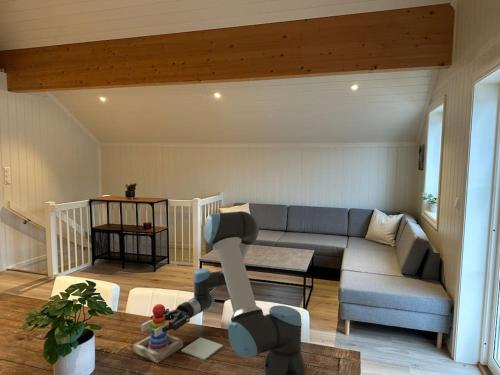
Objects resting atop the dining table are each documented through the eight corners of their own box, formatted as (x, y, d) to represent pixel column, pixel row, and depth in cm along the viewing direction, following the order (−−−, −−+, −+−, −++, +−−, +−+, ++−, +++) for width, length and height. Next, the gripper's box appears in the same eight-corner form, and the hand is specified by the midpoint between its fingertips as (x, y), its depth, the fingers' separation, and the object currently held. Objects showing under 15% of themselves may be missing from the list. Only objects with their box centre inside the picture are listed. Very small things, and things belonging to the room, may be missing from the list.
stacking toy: (163, 355, 136) (162, 309, 135) (144, 353, 138) (143, 307, 136) (171, 345, 144) (171, 301, 143) (153, 343, 146) (153, 300, 144)
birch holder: (182, 346, 143) (182, 339, 143) (157, 362, 131) (157, 355, 131) (159, 337, 150) (158, 330, 150) (132, 352, 139) (132, 344, 138)
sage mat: (222, 346, 143) (222, 345, 143) (204, 360, 133) (204, 358, 133) (200, 338, 150) (200, 337, 150) (181, 351, 140) (181, 349, 139)
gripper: (205, 323, 150) (166, 347, 131) (172, 312, 161) (131, 333, 141) (205, 306, 150) (166, 327, 130) (172, 297, 160) (131, 315, 141)
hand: (148, 330), depth 136 cm, fingers open, 7 cm apart
